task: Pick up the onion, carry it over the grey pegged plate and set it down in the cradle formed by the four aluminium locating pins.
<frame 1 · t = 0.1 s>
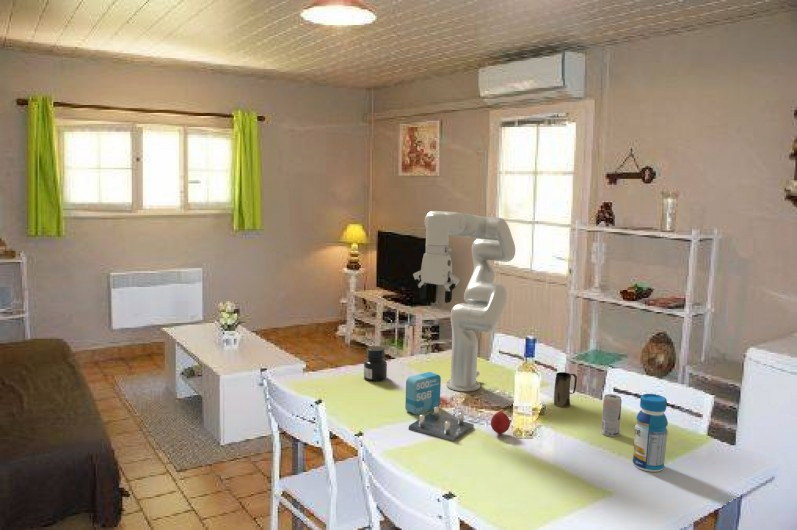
hand: (435, 300, 221), 37 cm above the table, tool pointing down, fingers open, 9 cm apart
data package: (422, 410, 221), on the table
grey pegged plate: (441, 428, 206), on the table
onion: (499, 435, 202), on the table
ink bottle: (375, 379, 254), on the table
energy drink: (610, 434, 205), on the table
mug: (564, 406, 229), on the table
beverage bottle: (648, 466, 183), on the table
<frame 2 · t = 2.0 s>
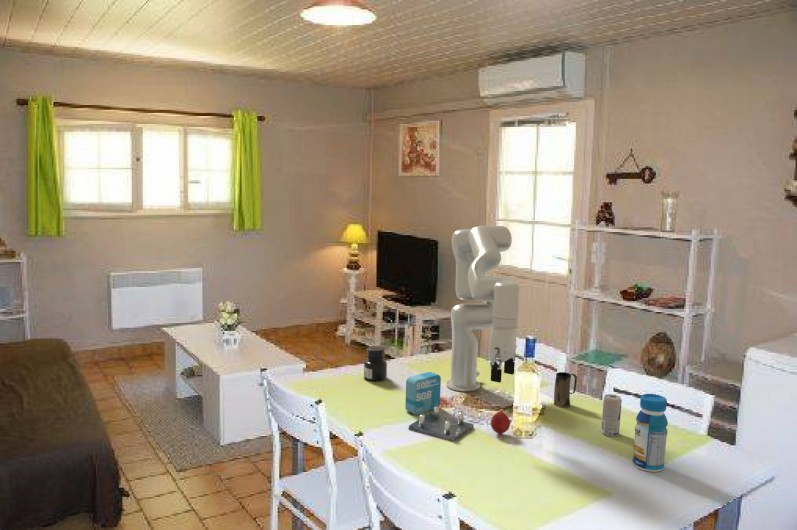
hand: (502, 377, 199), 18 cm above the table, tool pointing down, fingers open, 9 cm apart
nothing on the table moved.
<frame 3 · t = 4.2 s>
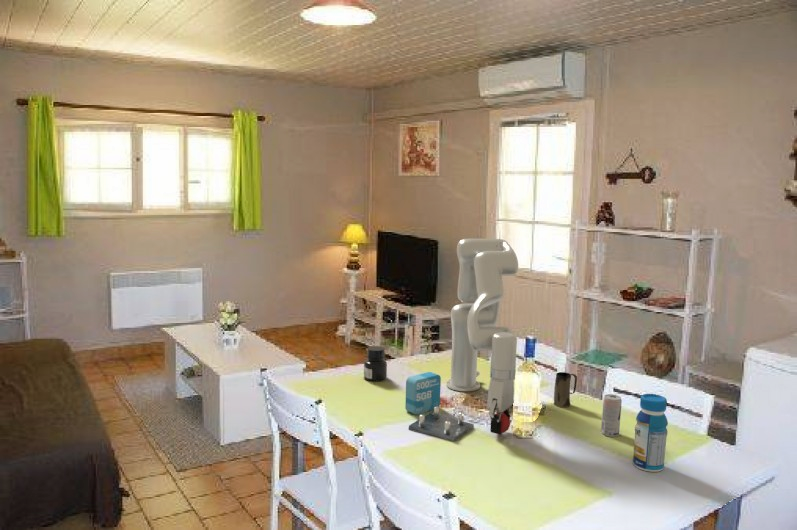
hand: (500, 429, 202), 2 cm above the table, tool pointing down, fingers closed on onion, 5 cm apart
onion: (499, 435, 202), on the table, touching gripper
everything else where it was.
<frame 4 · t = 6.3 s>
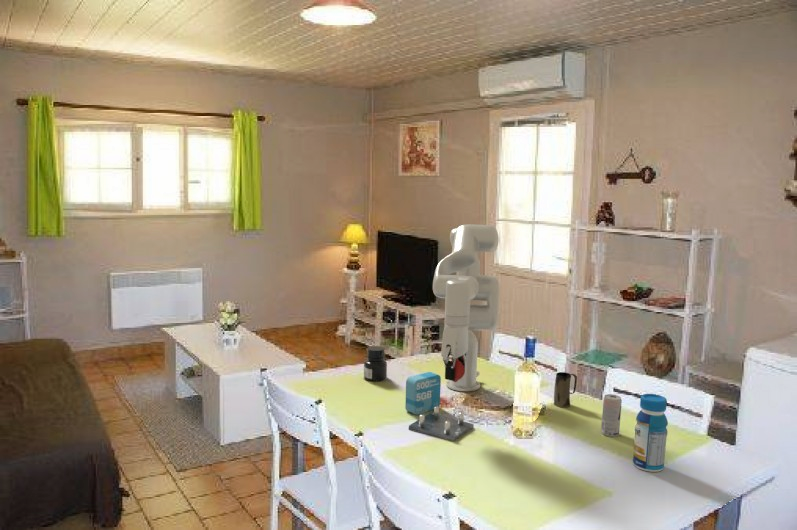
hand: (454, 376, 203), 17 cm above the table, tool pointing down, fingers closed on onion, 5 cm apart
onion: (454, 382, 203), point 15 cm above the table, touching gripper
everything else where it was.
when the fingers open (5 cm above the table, at t = 8.6 s): onion drops 2 cm, resting on grey pegged plate.
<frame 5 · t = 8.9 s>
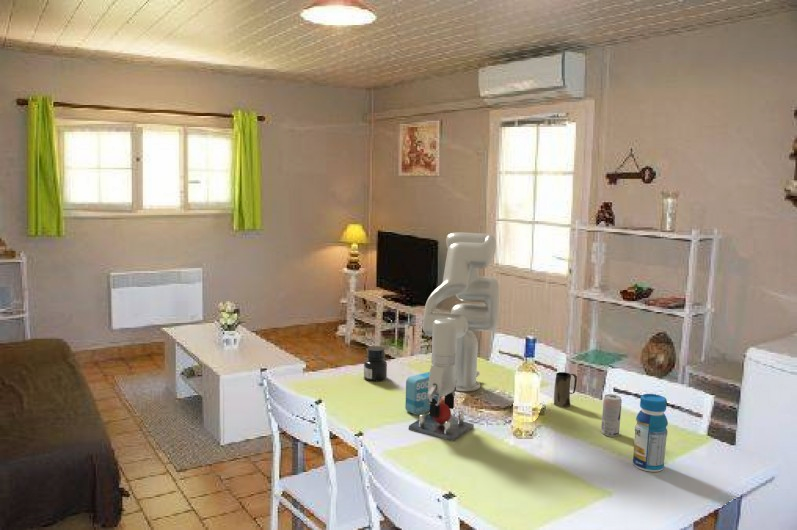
hand: (441, 412, 205), 5 cm above the table, tool pointing down, fingers open, 8 cm apart
onion: (441, 425, 206), point 1 cm above the table, touching grey pegged plate
everything else where it was.
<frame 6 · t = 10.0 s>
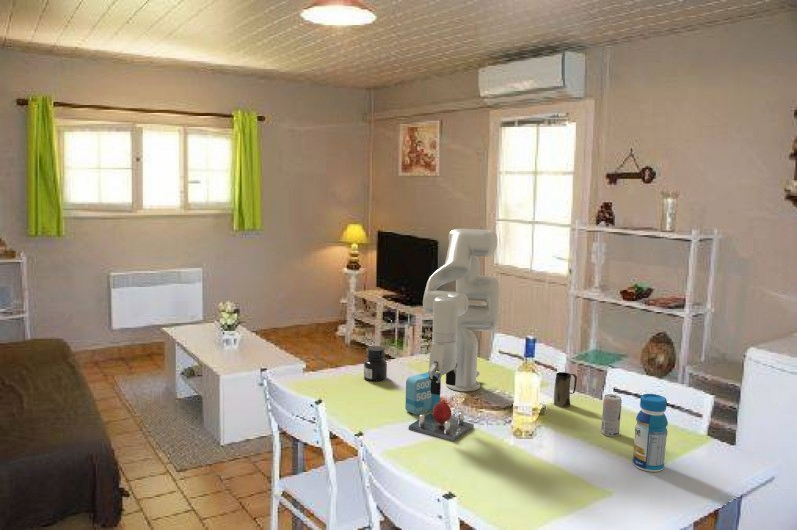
hand: (443, 389, 205), 13 cm above the table, tool pointing down, fingers open, 9 cm apart
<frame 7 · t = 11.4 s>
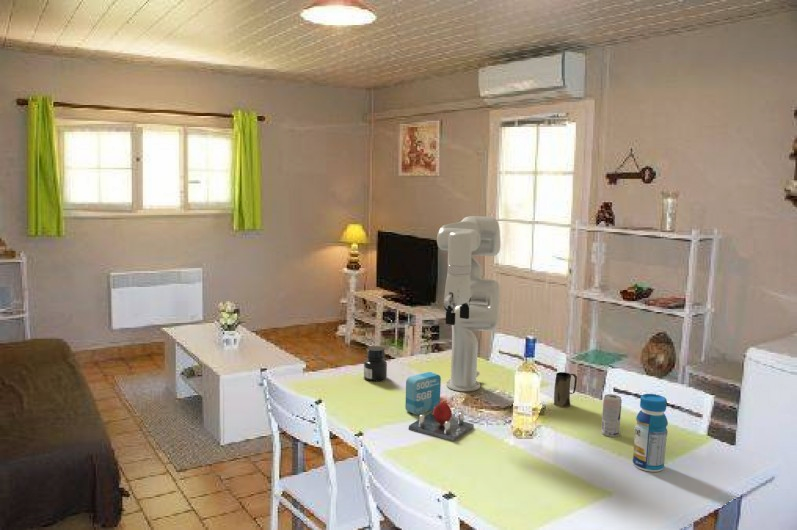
hand: (457, 321, 215), 31 cm above the table, tool pointing down, fingers open, 9 cm apart
nothing on the table moved.
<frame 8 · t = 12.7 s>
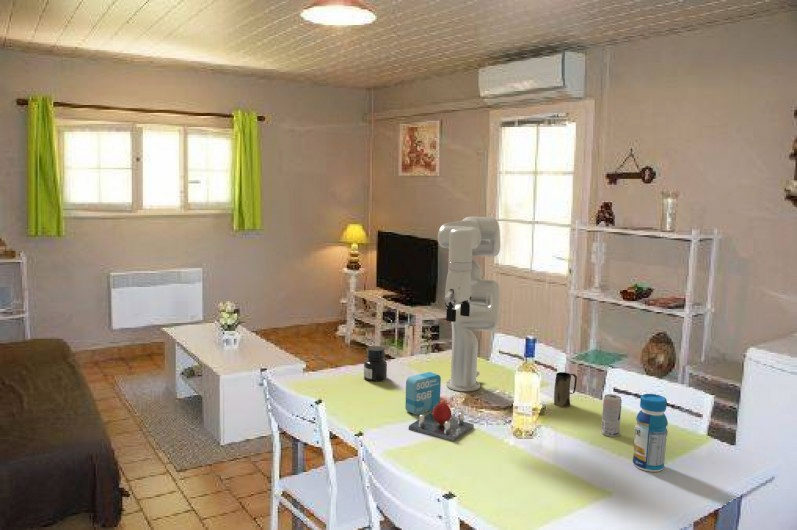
hand: (458, 318, 215), 32 cm above the table, tool pointing down, fingers open, 9 cm apart
nothing on the table moved.
at the end: onion 0.1 cm off-centre on the grey pegged plate, point 1.0 cm above the grey pegged plate's base; the gripper is holding nothing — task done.
